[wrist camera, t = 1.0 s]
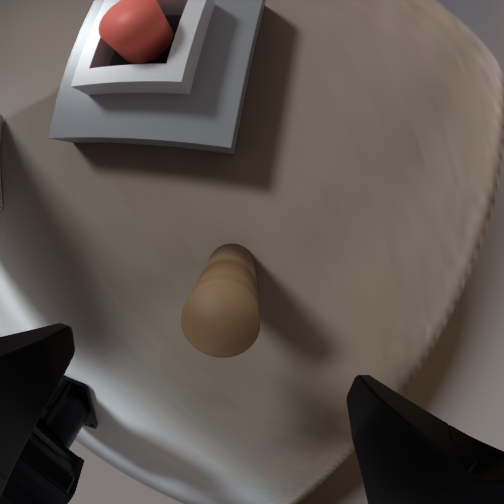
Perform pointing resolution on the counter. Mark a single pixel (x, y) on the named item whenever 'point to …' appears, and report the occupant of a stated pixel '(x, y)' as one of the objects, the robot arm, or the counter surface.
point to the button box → (162, 80)
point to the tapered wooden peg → (224, 304)
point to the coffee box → (0, 201)
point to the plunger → (136, 30)
